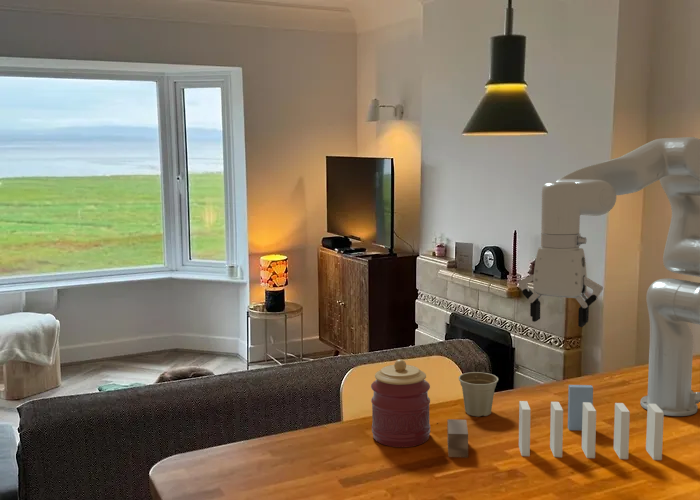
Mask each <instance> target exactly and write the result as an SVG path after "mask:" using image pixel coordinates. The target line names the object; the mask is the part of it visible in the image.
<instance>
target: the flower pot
mask: <svg viewBox="0 0 700 500" xmlns="http://www.w3.org/2000/svg"><path fill="white" fill-rule="evenodd" d="M458 381H459V382H460V386H461V390H462V397H463V405H464V412H465V413H466V414H467V415H469V416H472V417H482V416H484V417H487V416H489V415H491V414H492V409H493V402H494V401H493V400H494V395H495V389H496V386H497V383H499V377H498V376H496V375H495V374H492V373H487V372H481V371H479V372H478V371H473V372H472V371H471V372H465V373H462V374H460V375H459V376H458Z"/></svg>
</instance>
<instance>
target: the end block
mask: <svg viewBox="0 0 700 500" xmlns="http://www.w3.org/2000/svg"><path fill="white" fill-rule="evenodd" d="M468 430H469V429H468V423H467V419H455V418H454V419H449V418H448V419H447V453H448V455H447V456H448V458H469V432H468Z"/></svg>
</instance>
